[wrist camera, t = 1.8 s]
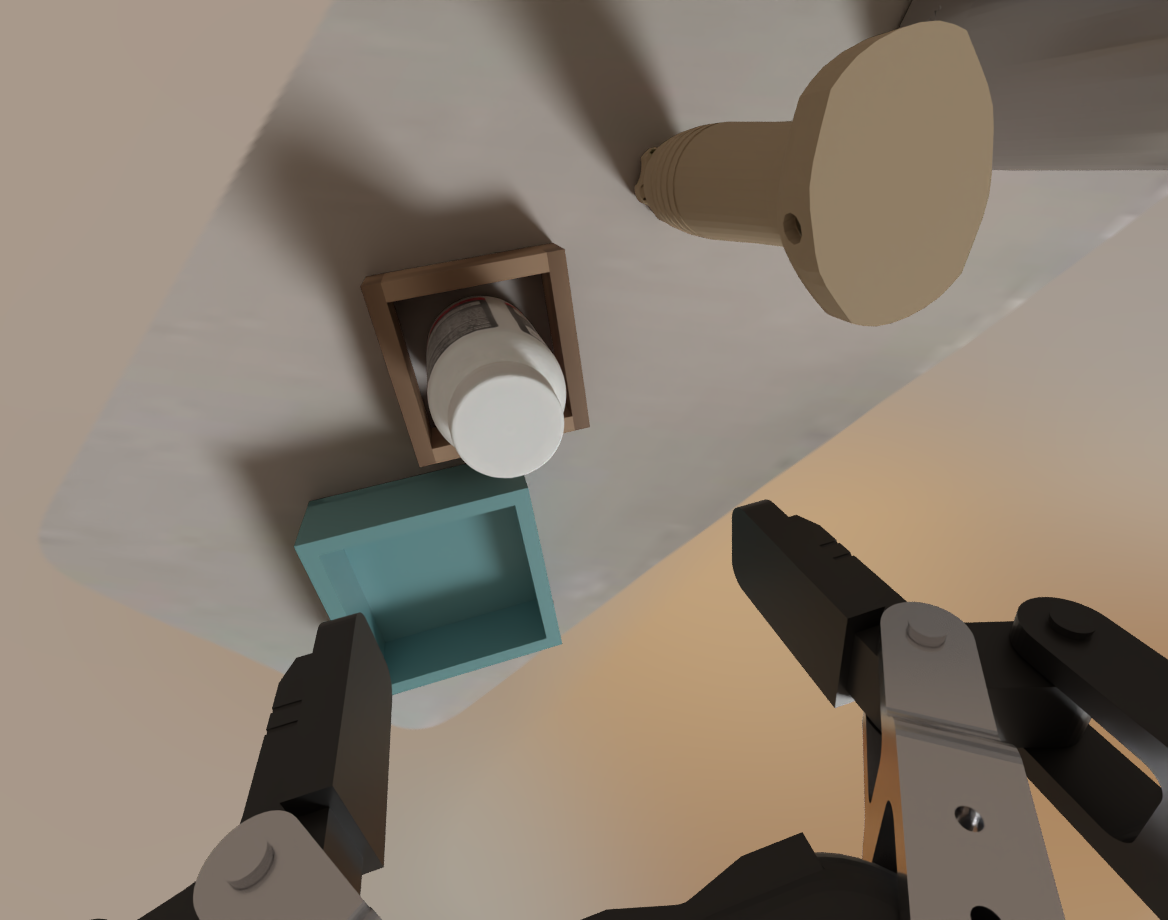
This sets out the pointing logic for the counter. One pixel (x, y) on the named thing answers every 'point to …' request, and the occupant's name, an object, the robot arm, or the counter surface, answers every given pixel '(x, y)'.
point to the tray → (434, 571)
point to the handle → (850, 174)
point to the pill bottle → (494, 387)
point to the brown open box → (463, 275)
